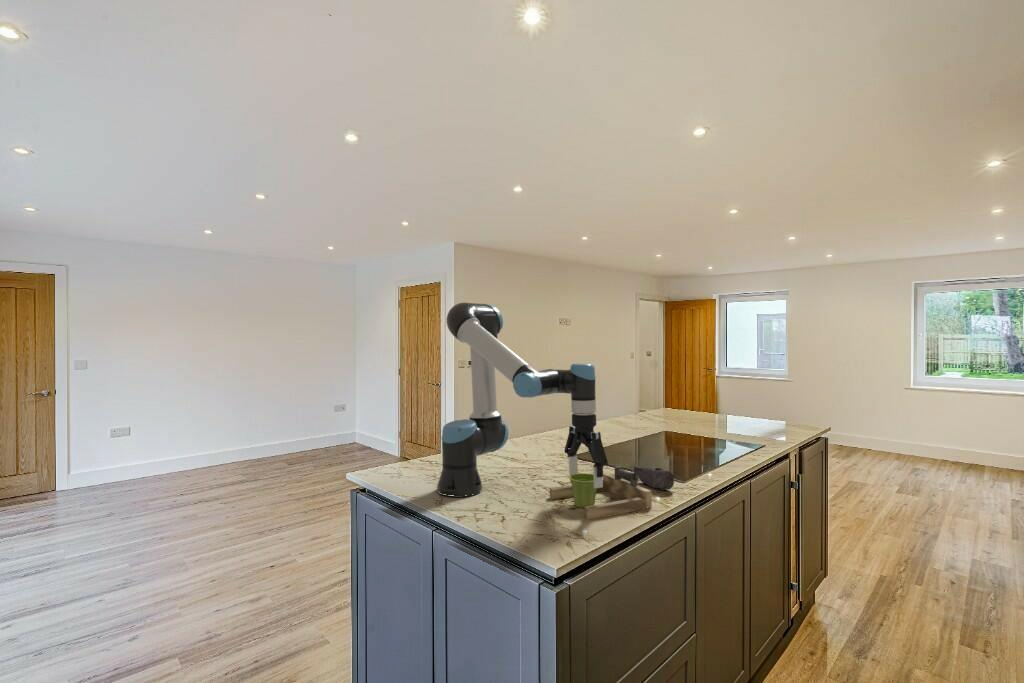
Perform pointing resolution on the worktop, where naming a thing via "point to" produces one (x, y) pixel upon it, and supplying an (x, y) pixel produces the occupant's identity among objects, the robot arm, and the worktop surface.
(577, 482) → the plant pot
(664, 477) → the perforated stone tool
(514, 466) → the worktop surface
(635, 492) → the bay
